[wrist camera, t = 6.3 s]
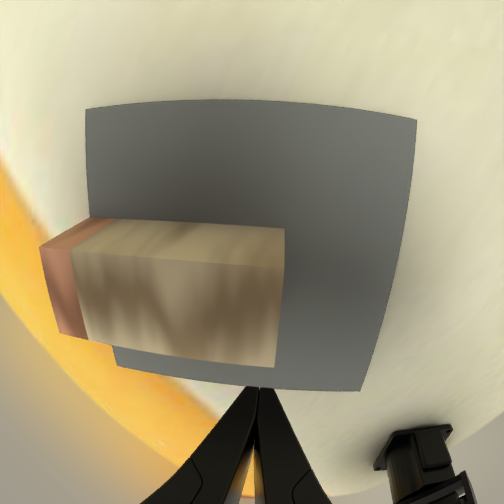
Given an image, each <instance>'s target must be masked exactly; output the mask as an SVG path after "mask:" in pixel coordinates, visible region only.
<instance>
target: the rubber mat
mask: <svg viewBox="0 0 504 504" xmlns="http://www.w3.org/2000/svg"><path fill="white" fill-rule="evenodd" d="M416 130H417V120H415V119H411V118H406V117H400V116H395V115H390V114H384V113H378V112H372V111H365V110H359V109H352V108H344V107H336V106H327V105H318V104H307V103H295V102H281V101H261V100H180V101H161V102H147V103H135V104H124V105H115V106H107V107H99V108H91V109H86V116H85V137H86V170H87V187H88V200H89V211H90V218H114V219H136V220H157V221H176V222H194V223H210V224H226V225H242V226H257V227H271V228H284V229H285V251H284V278H283V289H282V299H281V309H280V319H279V329H278V338H277V347H276V356H275V365H274V368H272V367H260V366H249V365H238V364H229V363H220V362H212V361H204V360H196V359H189V358H182V357H175V356H169V355H163V354H157V353H151V352H145V351H140V350H134V349H129V348H124V347H119V346H114V345H112V348H113V352H114V356H115V360H116V363H117V366H121V367H125V368H130V369H135V370H140V371H145V372H150V373H156V374H161V375H167V376H173V377H179V378H185V379H192V380H198V381H206V382H213V383H221V384H230V385H239V386H256V387H260V388H261V387H268V388H273V389H287V390H307V391H360V390H361V387H362V385H363V382H364V379H365V376H366V373H367V370H368V367H369V364H370V361H371V358H372V355H373V352H374V348H375V345H376V342H377V338H378V335H379V332H380V328H381V325H382V321H383V317H384V314H385V310H386V306H387V303H388V299H389V295H390V291H391V287H392V282H393V278H394V274H395V269H396V265H397V260H398V255H399V251H400V246H401V241H402V235H403V230H404V224H405V219H406V213H407V206H408V200H409V193H410V186H411V179H412V171H413V162H414V153H415V142H416Z"/></svg>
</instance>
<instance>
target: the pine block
mask: <svg viewBox="0 0 504 504" xmlns="http://www.w3.org/2000/svg"><path fill="white" fill-rule="evenodd" d="M39 250H40V255H41V260H42V265H43V270H44V275H45V279H46V284H47V288H48V292H49V296H50V300H51V304H52V307H53V311H54V315H55V318H56V322H57V325H58V329H59V332H60V333H62V334H66V335H70V336H74V337H78V338H82V339H86V340H91V341H95V342H100V343H104V344H109V345H114V346H119V347H124V348H129V349H134V350H140V351H145V352H151V353H157V354H163V355H169V356H175V357H182V358H189V359H196V360H204V361H212V362H220V363H229V364H238V365H249V366H260V367H272V368H274V365H275V356H276V347H277V338H278V329H279V319H280V309H281V299H282V289H283V278H284V251H285V229H284V228H271V227H257V226H242V225H226V224H210V223H194V222H176V221H157V220H136V219H114V218H88V219H86V220H84V221H83V222H81V223H79V224H77V225H75V226H74V227H72V228H70V229H68V230H67V231H65V232H63V233H62V234H60V235H58V236H56V237H55V238H53V239H51V240H50V241H48V242H46V243H45V244H43V245H41V246H40V247H39Z"/></svg>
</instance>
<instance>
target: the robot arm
mask: <svg viewBox="0 0 504 504" xmlns="http://www.w3.org/2000/svg"><path fill="white" fill-rule="evenodd" d="M259 390H260V391H259ZM452 431H453V428H452V426H451V425H447V426H440V427H433V428H425V429H417V430H408V431H398V432H395V433H393V434H392V435H391V437H390V439H389V441H388V442H387V444H386V446H385V448H384V449H383V451H382V453H381V454H380V456H379V458H378V459H377V461H376V462H375V464H374V466H373V469H374V471H380V470H387V473H388V478H389V483H390V488H391V494H392V500H393V504H477V500H476V498H475V494H474V491H473V488H472V485H471V482H470V480H469V478H468V476H467V473H466V471H463V472H461V473H460V474H459V475H457V476H455V473H454V470H453V467H452V464H451V462H452V460H451V457H450V454H449V451H448V448H447V446H446V443H445V441H446V439H447V438H448V436H449V435H450V434H451V432H452ZM254 439H255V440H254ZM253 447H254V485H255V504H332V503H331V501H330V500H329V498H328V497H327V495H326V494H325V492H324V491H323V489H322V487H321V485H320V483H319V482H318V480H317V478H316V476H315V474H314V472H313V470H312V469H311V466H310V464H309V462H308V460H307V458H306V456H305V454H304V452H303V450H302V447H301V445H300V443H299V441H298V439H297V437H296V435H295V433H294V431H293V429H292V427H291V424H290V422H289V420H288V418H287V416H286V414H285V412H284V410H283V407H282V405H281V403H280V401H279V399H278V397H277V394H276V392H275V390H274V389H273V388H268V387H261V388H260V389H259V387H256V386H246V387H245V388H244V389H243V391H242V392H241V393H240V394H239V396H238V397H237V398H236V400H235V401H234V402H233V404H232V405H231V406H230V407H229V409H228V410H227V411H226V413H225V414H224V415H223V416H222V418H221V419H220V420H219V421H218V423H217V424H216V425H215V426H214V428H213V429H212V430H211V431H210V433H209V434H208V435H207V436H206V438H205V439H204V440H203V441H202V442H201V444H200V445H199V446H198V447H197V449H196V450H195V451H194V452H193V453H192V455H191V456H190V458H188V459H187V460H186V461H185V463H184V464H183V465H182V466H181V467H180V468H179V469H178V470H177V472H176V473H175V474H174V475H173V476H172V477H171V478H170V479H169V480H168V481H166V482H165V483H164V484H163V485H162V486H161V487H160V488H159V489H157V490H156V491H155V492H154V493H153V494H151V495H150V496H149V497H148V498H146V499H145V500H144V501H143V502H141V503H140V504H239V501H240V497H241V494H242V490H243V487H244V483H245V479H246V476H247V472H248V468H249V465H250V461H251V457H252V453H253ZM463 493H465V494H466V495H464V496H462V497H460V498H459V495H461V494H463Z"/></svg>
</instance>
